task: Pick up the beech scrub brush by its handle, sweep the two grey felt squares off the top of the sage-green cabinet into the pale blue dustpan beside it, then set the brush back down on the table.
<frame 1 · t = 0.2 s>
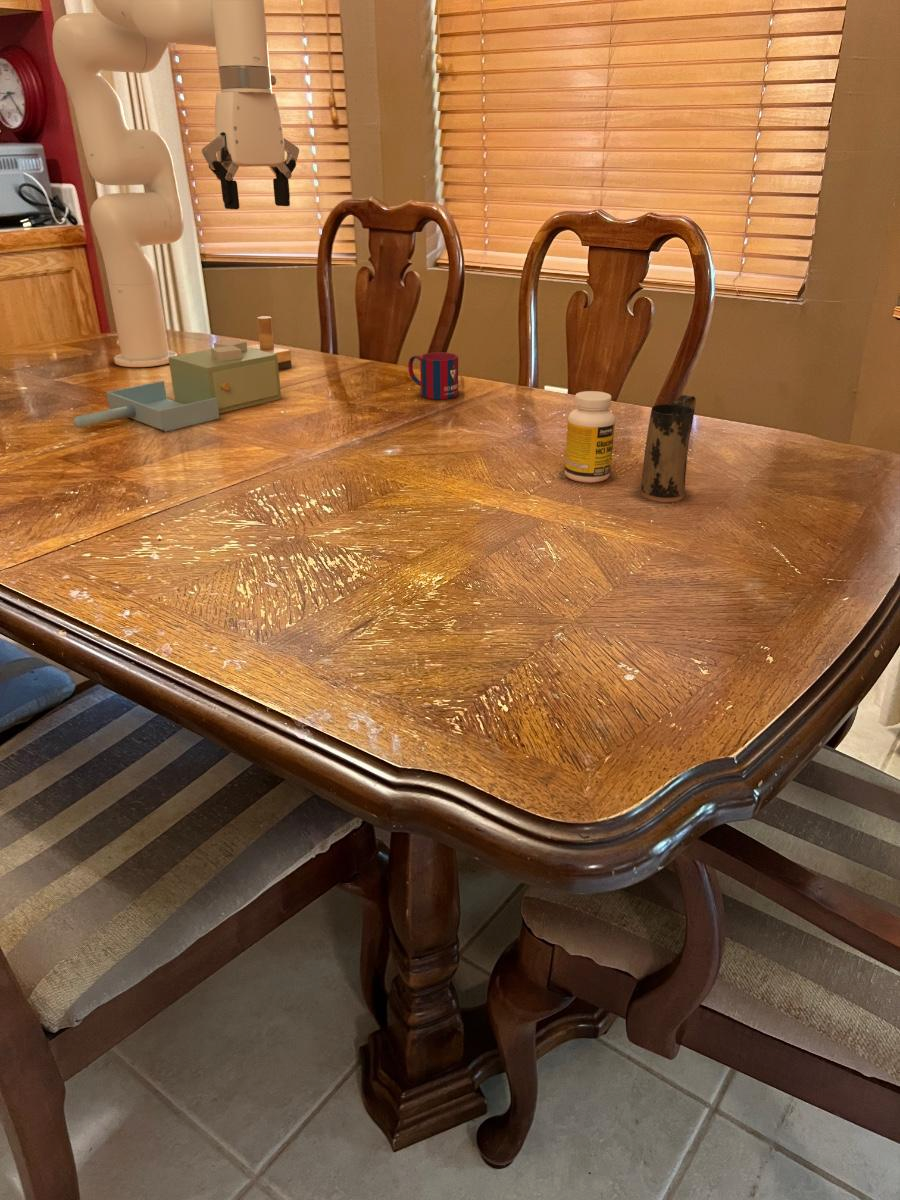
hand: (257, 207, 137), 31 cm above the table, tool pointing down, fingers open, 9 cm apart
pill bottle: (587, 477, 117), on the table
felt a: (231, 351, 151), point 8 cm above the table, touching cabinet
felt b: (227, 357, 146), point 8 cm above the table, touching cabinet
cabinet: (228, 400, 151), on the table
mug: (665, 493, 111), on the table
brush: (268, 365, 175), on the table
dustpan: (165, 414, 143), on the table
cup: (432, 394, 155), on the table
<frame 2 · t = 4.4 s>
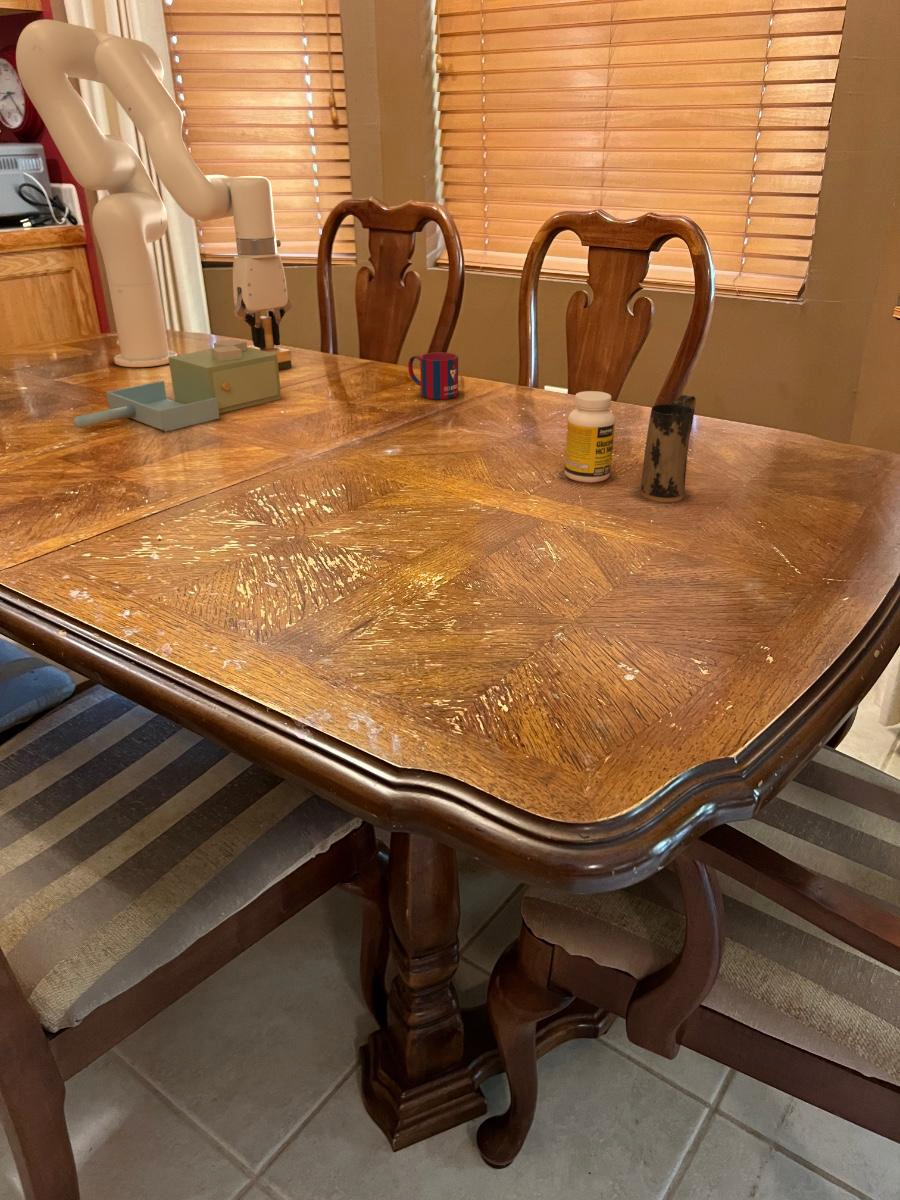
hand: (266, 345, 173), 4 cm above the table, tool pointing down, fingers closed on brush, 2 cm apart
brush: (268, 365, 175), on the table, touching gripper
everything else where it was.
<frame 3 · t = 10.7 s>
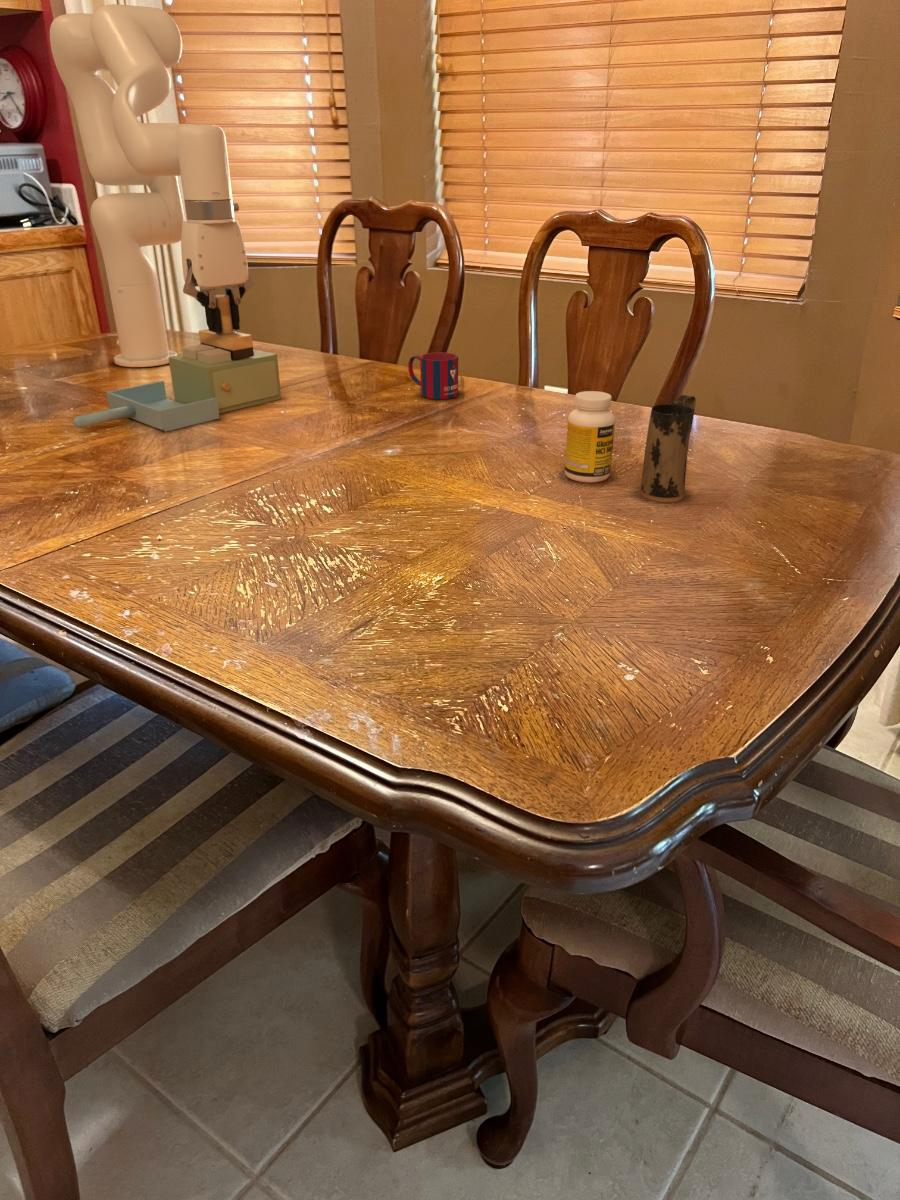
hand: (224, 329, 146), 12 cm above the table, tool pointing down, fingers closed on brush, 2 cm apart
felt a: (199, 356, 147), point 8 cm above the table, touching brush, cabinet
felt b: (214, 360, 144), point 8 cm above the table, touching brush, cabinet
brush: (227, 353, 148), point 8 cm above the table, touching felt a, felt b, gripper
everything else where it was.
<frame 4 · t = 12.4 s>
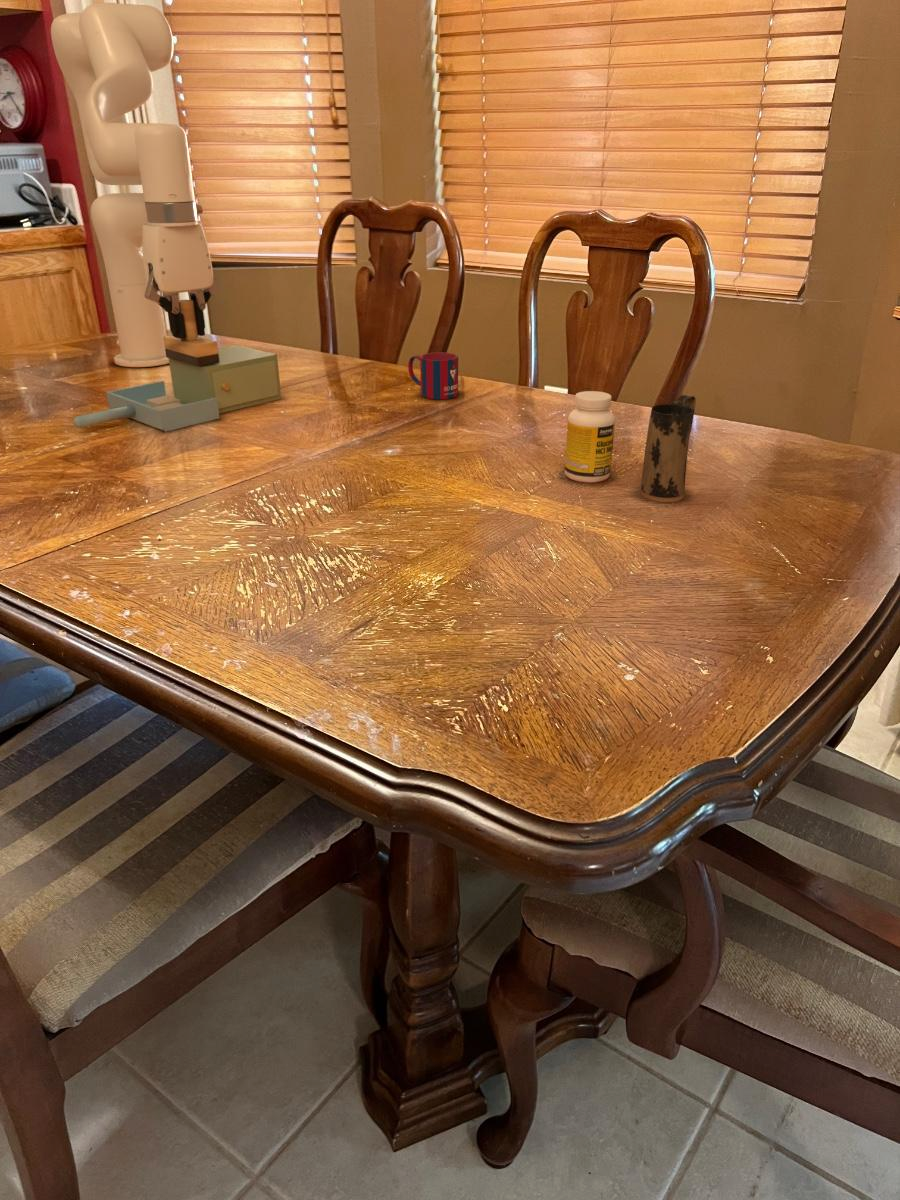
hand: (188, 335, 142), 12 cm above the table, tool pointing down, fingers closed on brush, 2 cm apart
felt a: (163, 399, 145), point 2 cm above the table, tilted 180°, touching dustpan
felt b: (170, 406, 141), point 2 cm above the table, tilted 180°, touching dustpan
brush: (192, 360, 144), point 8 cm above the table, touching gripper
everything else where it was.
when the fingers open (4 cm above the table, at t = 20.7 s): brush stays where it is, on the table.
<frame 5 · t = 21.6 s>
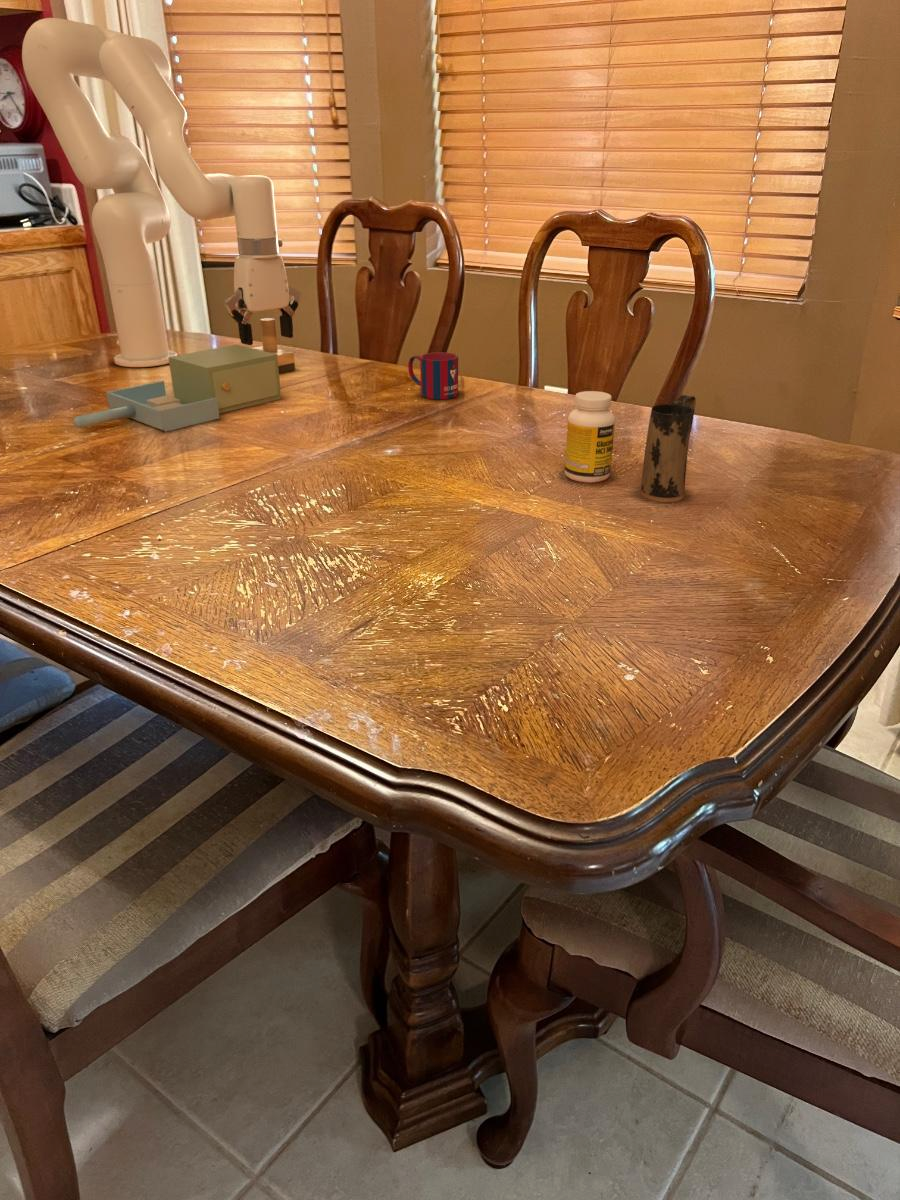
hand: (267, 340, 171), 5 cm above the table, tool pointing down, fingers open, 9 cm apart
brush: (272, 368, 173), on the table
everything else where it was.
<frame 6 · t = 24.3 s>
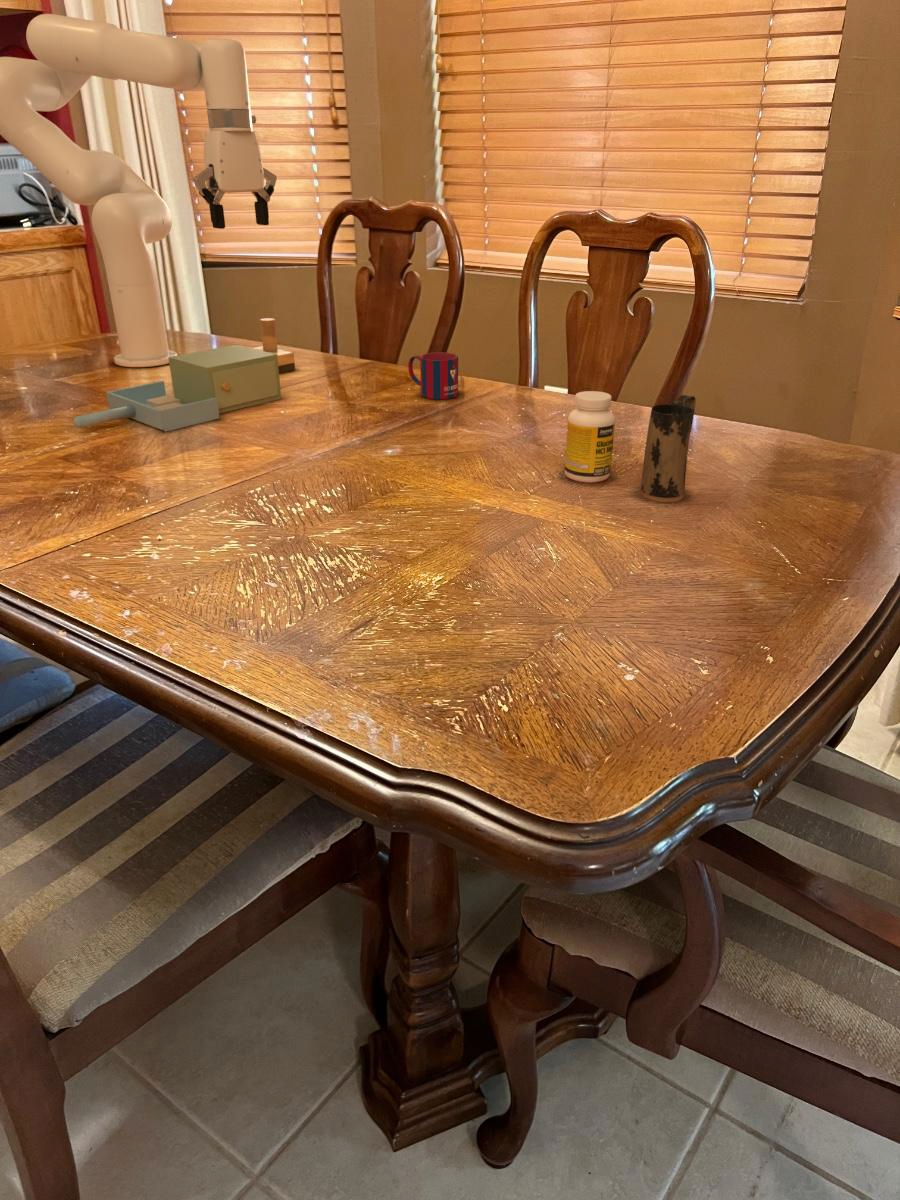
hand: (241, 226, 161), 26 cm above the table, tool pointing down, fingers open, 9 cm apart
nothing on the table moved.
at the end: felt a inside the target area in the dustpan (2.6 cm from its centre), point 1.9 cm above the dustpan's base; felt b inside the target area in the dustpan (2.7 cm from its centre), point 1.9 cm above the dustpan's base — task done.
